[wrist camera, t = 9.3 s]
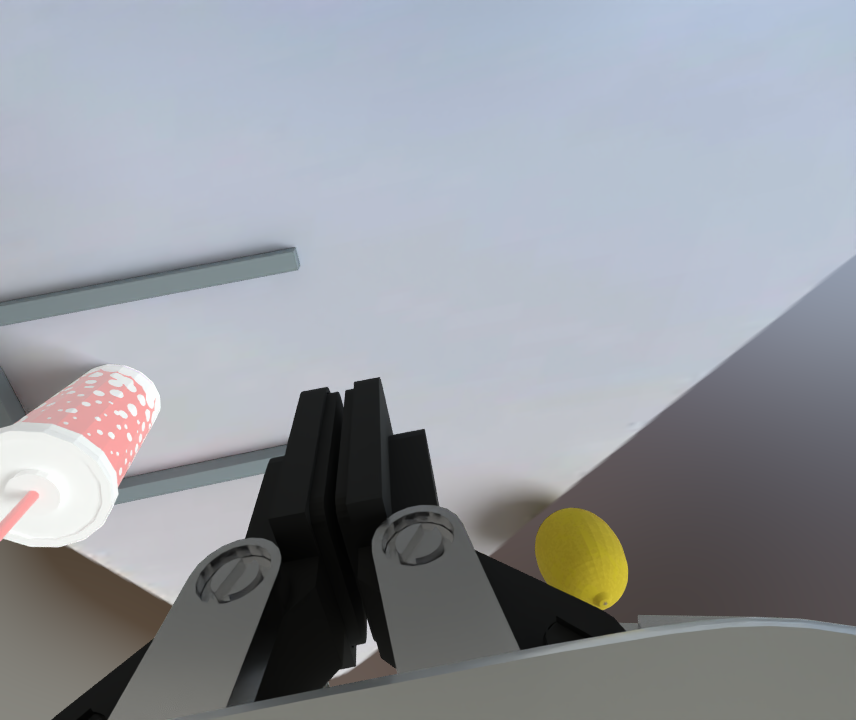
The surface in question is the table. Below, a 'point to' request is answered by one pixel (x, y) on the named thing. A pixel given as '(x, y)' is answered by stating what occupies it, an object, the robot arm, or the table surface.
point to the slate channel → (3, 403)
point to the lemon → (581, 557)
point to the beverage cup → (73, 456)
